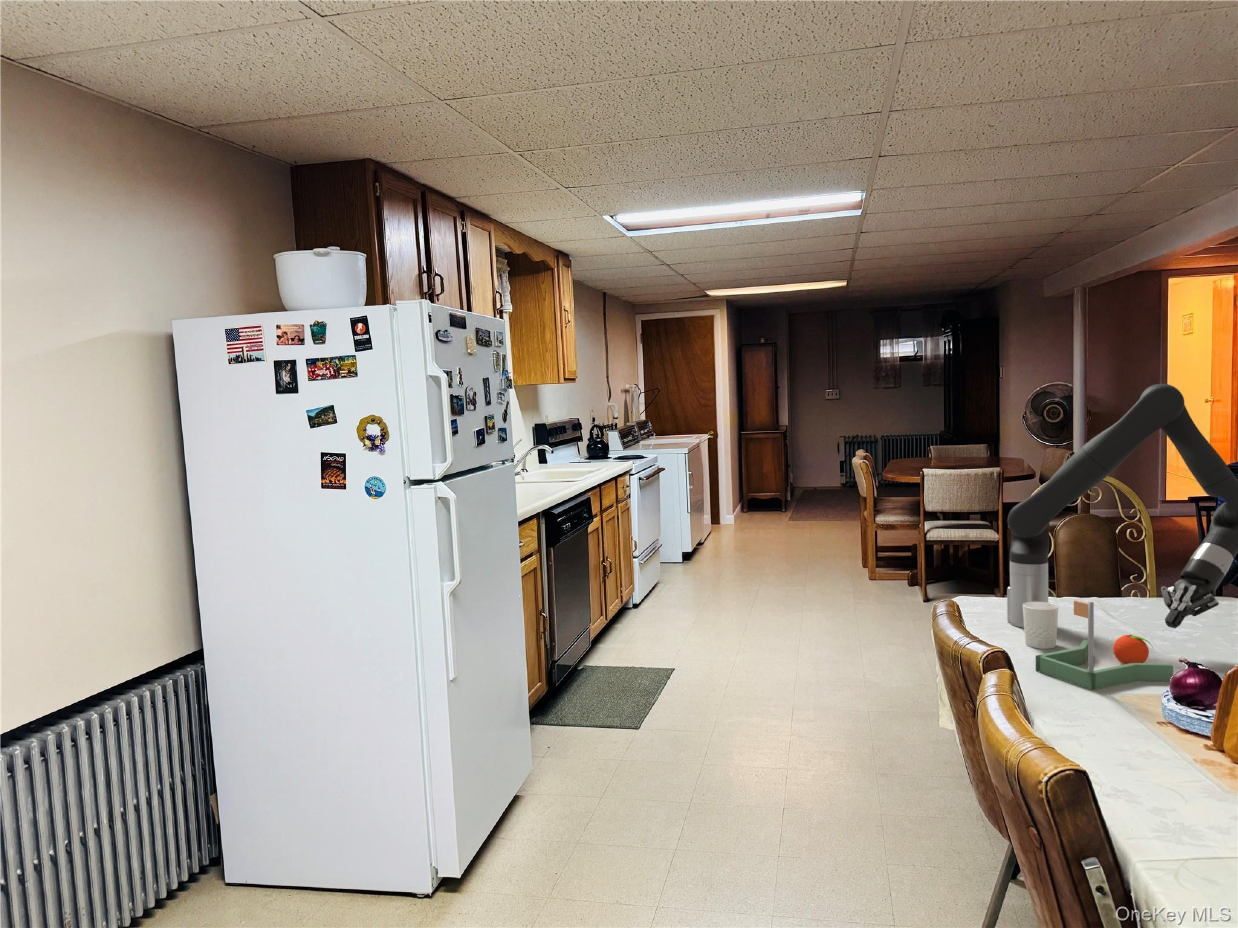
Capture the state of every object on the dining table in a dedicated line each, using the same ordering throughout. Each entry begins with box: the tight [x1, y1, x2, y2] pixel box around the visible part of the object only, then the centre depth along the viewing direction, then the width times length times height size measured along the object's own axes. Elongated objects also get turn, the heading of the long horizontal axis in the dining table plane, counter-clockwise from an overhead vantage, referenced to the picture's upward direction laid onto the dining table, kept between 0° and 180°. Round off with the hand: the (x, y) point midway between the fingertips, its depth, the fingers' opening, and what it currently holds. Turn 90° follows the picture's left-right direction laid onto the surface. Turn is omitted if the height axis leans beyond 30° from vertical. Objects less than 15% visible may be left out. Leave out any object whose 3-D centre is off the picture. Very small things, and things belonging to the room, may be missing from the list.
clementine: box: [1112, 634, 1155, 665], centre depth 189 cm, size 8×7×7 cm
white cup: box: [1023, 602, 1059, 650], centre depth 207 cm, size 8×8×10 cm
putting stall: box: [1035, 600, 1174, 691], centre depth 185 cm, size 22×20×18 cm
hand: (1170, 625), depth 193 cm, fingers closed
